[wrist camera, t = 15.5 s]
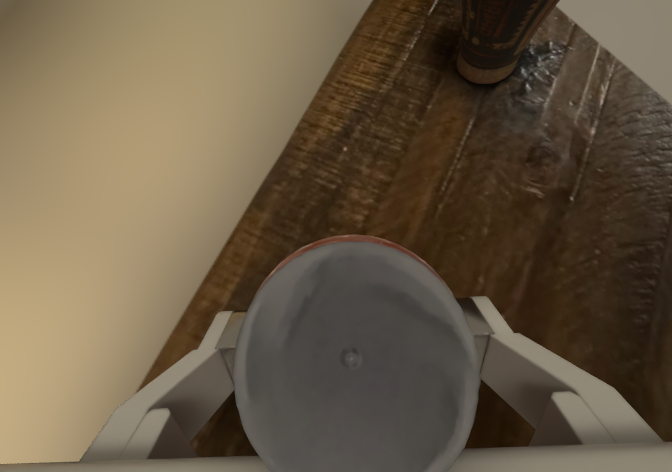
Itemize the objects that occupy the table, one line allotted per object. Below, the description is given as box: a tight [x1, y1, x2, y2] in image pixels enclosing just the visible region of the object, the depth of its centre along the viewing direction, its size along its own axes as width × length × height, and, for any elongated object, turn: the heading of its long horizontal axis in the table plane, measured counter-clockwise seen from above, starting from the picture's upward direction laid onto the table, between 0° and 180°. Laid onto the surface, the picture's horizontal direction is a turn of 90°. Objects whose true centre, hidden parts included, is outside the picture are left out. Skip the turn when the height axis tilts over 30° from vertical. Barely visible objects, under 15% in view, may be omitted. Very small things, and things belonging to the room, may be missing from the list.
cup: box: [457, 0, 559, 84], centre depth 21 cm, size 9×9×10 cm
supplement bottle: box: [233, 234, 481, 472], centre depth 10 cm, size 6×6×11 cm
